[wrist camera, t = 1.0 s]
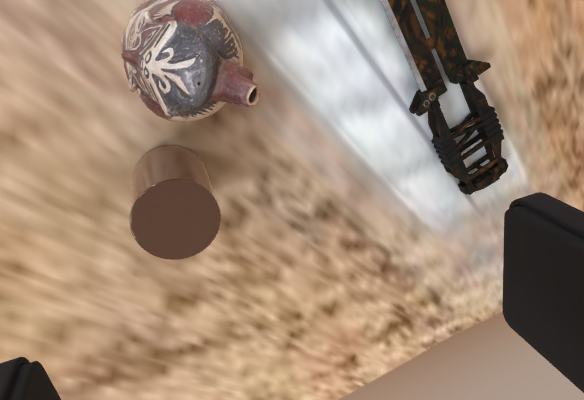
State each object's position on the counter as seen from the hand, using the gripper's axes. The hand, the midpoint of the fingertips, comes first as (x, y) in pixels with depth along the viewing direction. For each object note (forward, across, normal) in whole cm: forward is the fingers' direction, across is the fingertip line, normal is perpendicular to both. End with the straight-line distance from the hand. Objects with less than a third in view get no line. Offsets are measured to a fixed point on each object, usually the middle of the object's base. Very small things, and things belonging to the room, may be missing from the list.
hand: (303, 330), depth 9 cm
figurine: (+25, 0, -3) cm, 25 cm away
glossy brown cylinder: (+25, +3, +5) cm, 25 cm away
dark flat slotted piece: (+25, -17, +1) cm, 30 cm away
